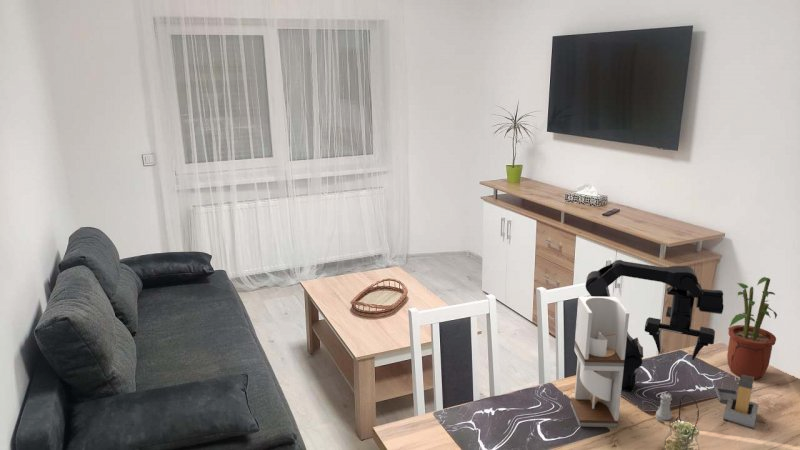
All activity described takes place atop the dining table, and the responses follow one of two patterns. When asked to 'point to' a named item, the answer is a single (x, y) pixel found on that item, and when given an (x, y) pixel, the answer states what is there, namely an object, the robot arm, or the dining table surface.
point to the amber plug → (744, 393)
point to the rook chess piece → (664, 408)
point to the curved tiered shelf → (599, 360)
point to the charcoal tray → (725, 394)
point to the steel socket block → (740, 414)
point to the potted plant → (750, 337)
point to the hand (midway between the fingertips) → (675, 355)
